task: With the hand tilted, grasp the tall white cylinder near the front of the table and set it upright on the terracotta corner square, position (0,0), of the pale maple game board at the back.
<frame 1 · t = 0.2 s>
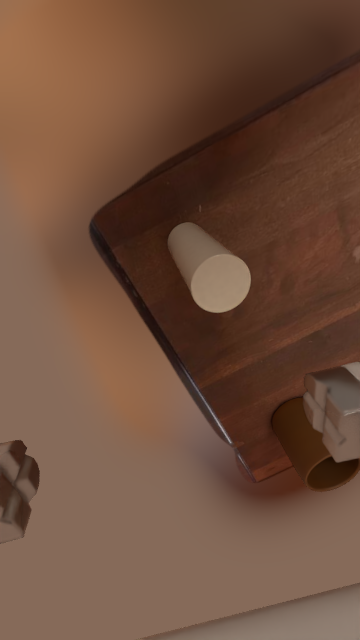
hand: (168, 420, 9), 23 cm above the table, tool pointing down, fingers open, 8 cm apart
mug: (307, 407, 44), on the table
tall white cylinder: (187, 243, 30), on the table
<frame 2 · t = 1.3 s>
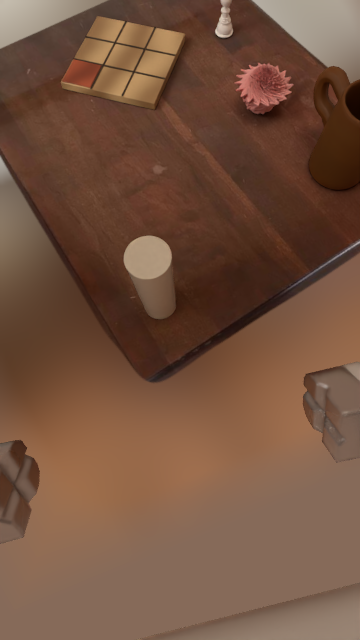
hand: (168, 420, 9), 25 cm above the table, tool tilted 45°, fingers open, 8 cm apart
chess pawn: (223, 34, 48), on the table
flower: (257, 110, 44), on the table
board: (125, 64, 47), on the table
mug: (323, 159, 41), on the table
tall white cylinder: (160, 303, 36), on the table
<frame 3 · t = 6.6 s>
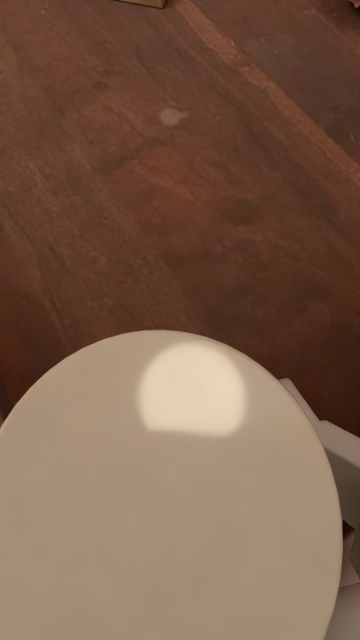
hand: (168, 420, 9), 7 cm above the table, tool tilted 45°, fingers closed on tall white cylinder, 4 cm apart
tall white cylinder: (180, 425, 15), on the table, touching gripper
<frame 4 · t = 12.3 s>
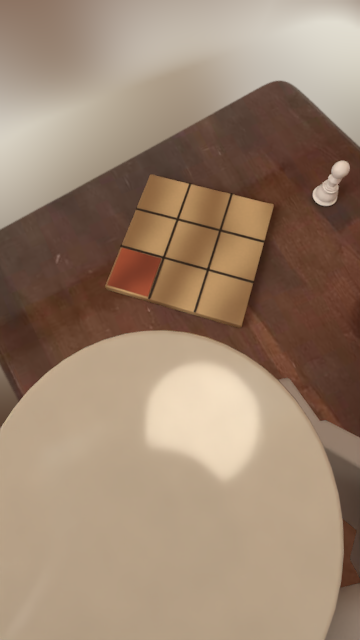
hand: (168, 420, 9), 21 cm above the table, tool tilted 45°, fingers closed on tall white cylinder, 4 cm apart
chess pawn: (323, 197, 35), on the table
board: (192, 248, 34), on the table
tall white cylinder: (180, 426, 15), point 15 cm above the table, touching gripper
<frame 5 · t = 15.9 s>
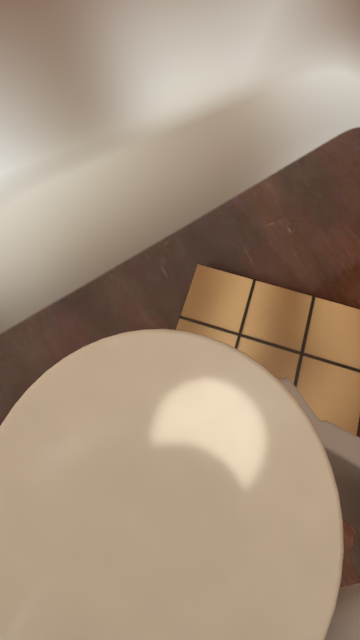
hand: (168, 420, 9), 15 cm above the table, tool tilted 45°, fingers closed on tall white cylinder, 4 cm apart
board: (259, 375, 24), on the table
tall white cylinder: (180, 425, 15), point 9 cm above the table, touching gripper
when the fingers open (8 cm above the table, at t = 18.3 s): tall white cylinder stays where it is, resting on board.
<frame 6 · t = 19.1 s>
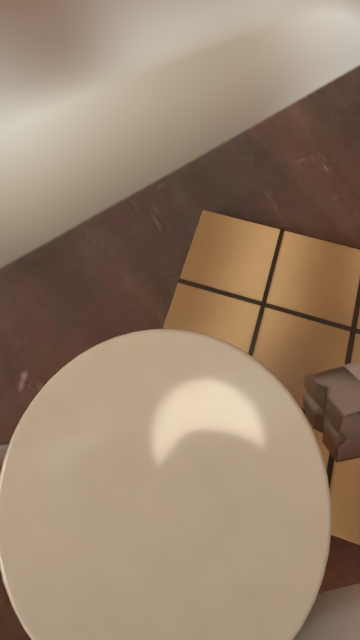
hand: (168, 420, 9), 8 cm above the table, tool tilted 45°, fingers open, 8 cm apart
board: (291, 362, 17), on the table
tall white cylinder: (182, 422, 15), point 1 cm above the table, touching board
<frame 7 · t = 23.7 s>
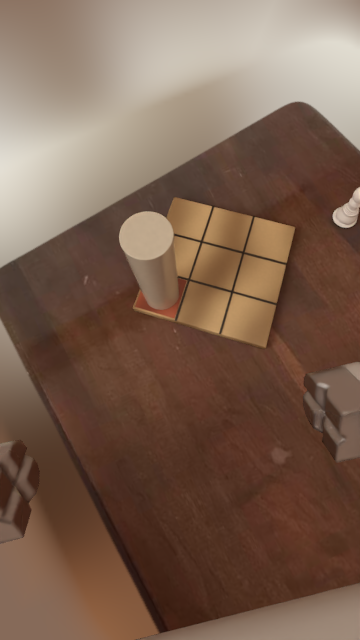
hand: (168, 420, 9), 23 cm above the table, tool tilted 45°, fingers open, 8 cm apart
chess pawn: (343, 219, 36), on the table
board: (215, 270, 35), on the table
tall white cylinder: (161, 292, 33), point 1 cm above the table, touching board
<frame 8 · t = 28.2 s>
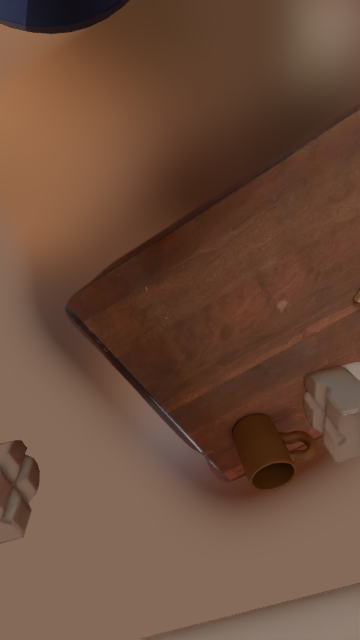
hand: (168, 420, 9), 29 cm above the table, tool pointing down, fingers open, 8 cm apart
mug: (262, 421, 53), on the table
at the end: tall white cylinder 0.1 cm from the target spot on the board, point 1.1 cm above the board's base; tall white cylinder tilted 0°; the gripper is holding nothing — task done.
